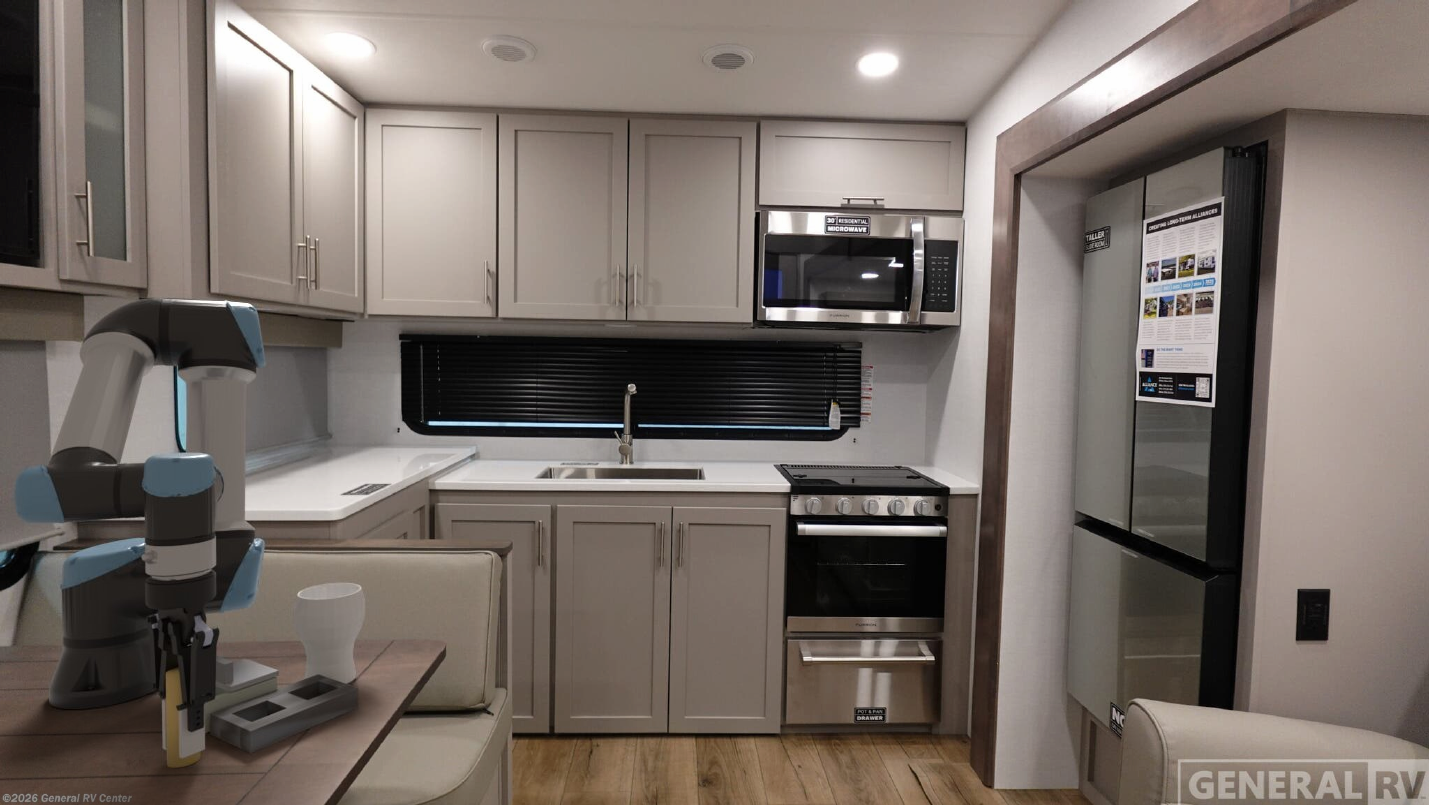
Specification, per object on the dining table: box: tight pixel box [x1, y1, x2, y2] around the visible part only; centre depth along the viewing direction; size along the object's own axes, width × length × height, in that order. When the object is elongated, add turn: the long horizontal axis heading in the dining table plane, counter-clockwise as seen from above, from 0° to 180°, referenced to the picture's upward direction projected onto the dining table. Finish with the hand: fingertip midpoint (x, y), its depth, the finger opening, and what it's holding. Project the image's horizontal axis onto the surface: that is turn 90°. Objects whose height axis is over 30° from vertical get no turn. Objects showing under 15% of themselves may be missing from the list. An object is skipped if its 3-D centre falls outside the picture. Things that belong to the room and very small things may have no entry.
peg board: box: [210, 674, 359, 754], centre depth 110 cm, size 10×16×3 cm, turn 151°
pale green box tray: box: [204, 676, 278, 734], centre depth 112 cm, size 9×11×4 cm
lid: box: [216, 655, 280, 692], centre depth 113 cm, size 9×7×4 cm
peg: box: [166, 667, 202, 769], centre depth 98 cm, size 4×4×12 cm
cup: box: [292, 582, 366, 684], centre depth 124 cm, size 11×11×15 cm
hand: (183, 748), depth 98 cm, fingers closed on peg, 3 cm apart
